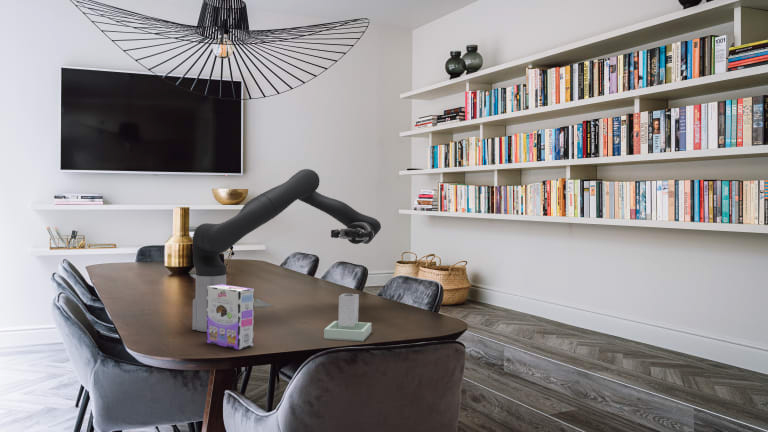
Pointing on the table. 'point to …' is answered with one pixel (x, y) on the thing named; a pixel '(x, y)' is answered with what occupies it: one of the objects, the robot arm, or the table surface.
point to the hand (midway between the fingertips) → (347, 235)
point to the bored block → (348, 311)
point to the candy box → (230, 316)
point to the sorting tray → (347, 332)
